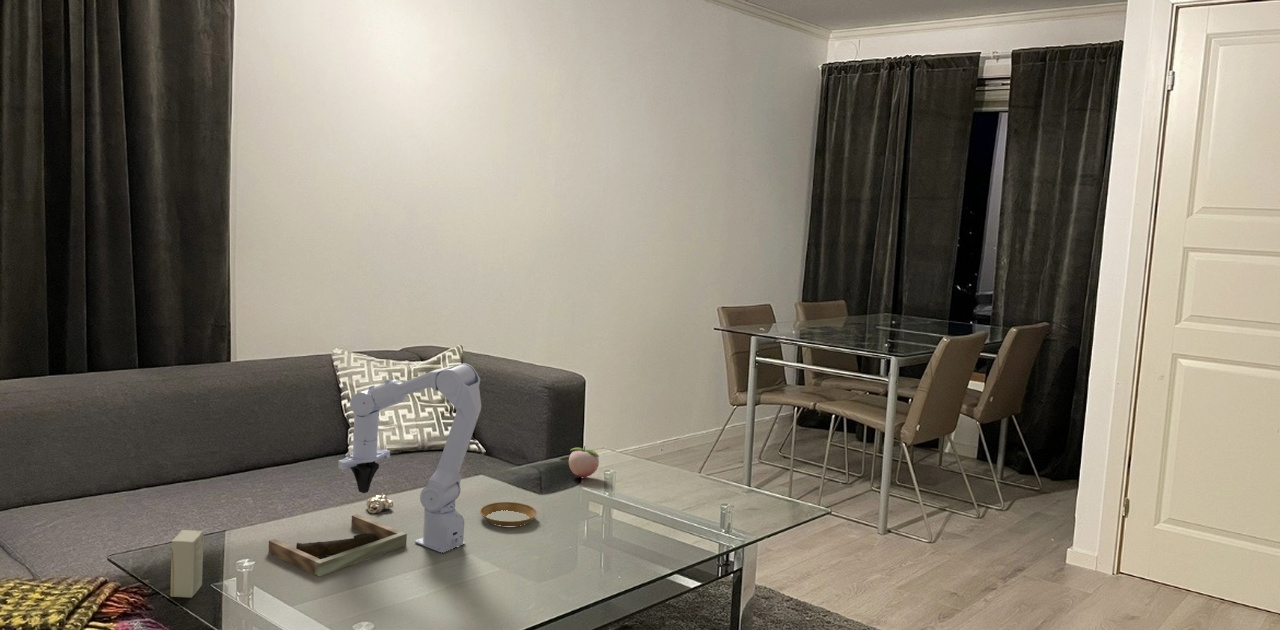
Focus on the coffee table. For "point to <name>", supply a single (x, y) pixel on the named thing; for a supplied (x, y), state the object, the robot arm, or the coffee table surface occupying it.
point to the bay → (319, 567)
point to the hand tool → (336, 545)
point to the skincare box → (186, 563)
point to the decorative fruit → (583, 462)
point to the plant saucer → (510, 507)
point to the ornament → (378, 503)
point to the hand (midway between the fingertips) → (363, 491)
